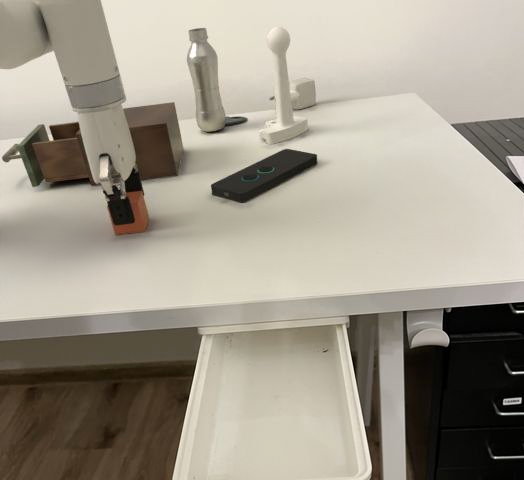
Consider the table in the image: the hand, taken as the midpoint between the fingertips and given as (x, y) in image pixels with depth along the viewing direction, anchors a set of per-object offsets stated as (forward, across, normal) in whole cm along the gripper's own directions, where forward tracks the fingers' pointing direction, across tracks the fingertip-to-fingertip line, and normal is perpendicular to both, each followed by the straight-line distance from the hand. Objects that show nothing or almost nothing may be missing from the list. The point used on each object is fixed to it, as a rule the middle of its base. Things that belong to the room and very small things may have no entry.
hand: (130, 210), depth 86 cm
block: (+3, 0, 0) cm, 3 cm away
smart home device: (+3, -14, +22) cm, 26 cm away
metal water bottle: (+3, -47, +11) cm, 48 cm away
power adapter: (+3, -56, +30) cm, 63 cm away
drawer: (+2, -28, -18) cm, 33 cm away
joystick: (+3, -38, +26) cm, 46 cm away
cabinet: (+3, -28, -3) cm, 28 cm away
